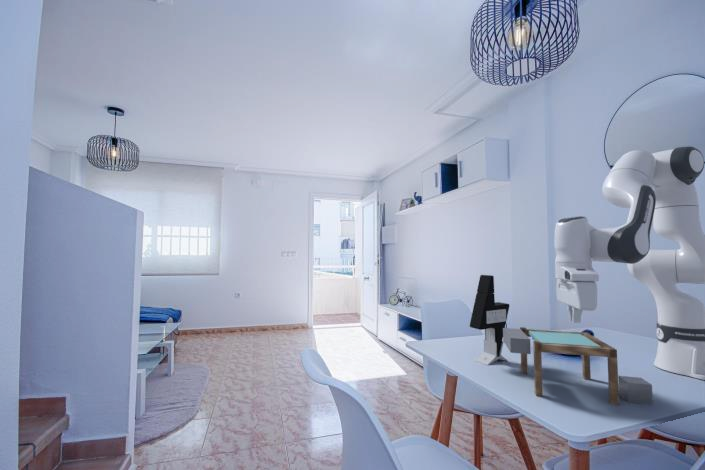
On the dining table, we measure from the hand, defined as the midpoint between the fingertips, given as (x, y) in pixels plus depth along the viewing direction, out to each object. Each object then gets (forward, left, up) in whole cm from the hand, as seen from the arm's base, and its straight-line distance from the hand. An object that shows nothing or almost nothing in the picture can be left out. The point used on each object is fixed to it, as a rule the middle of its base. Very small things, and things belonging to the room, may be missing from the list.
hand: (574, 321), depth 93 cm
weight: (-12, +4, -18) cm, 22 cm away
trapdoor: (+7, 0, -8) cm, 11 cm away
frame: (+3, 0, -18) cm, 19 cm away
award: (+20, -18, -18) cm, 33 cm away
